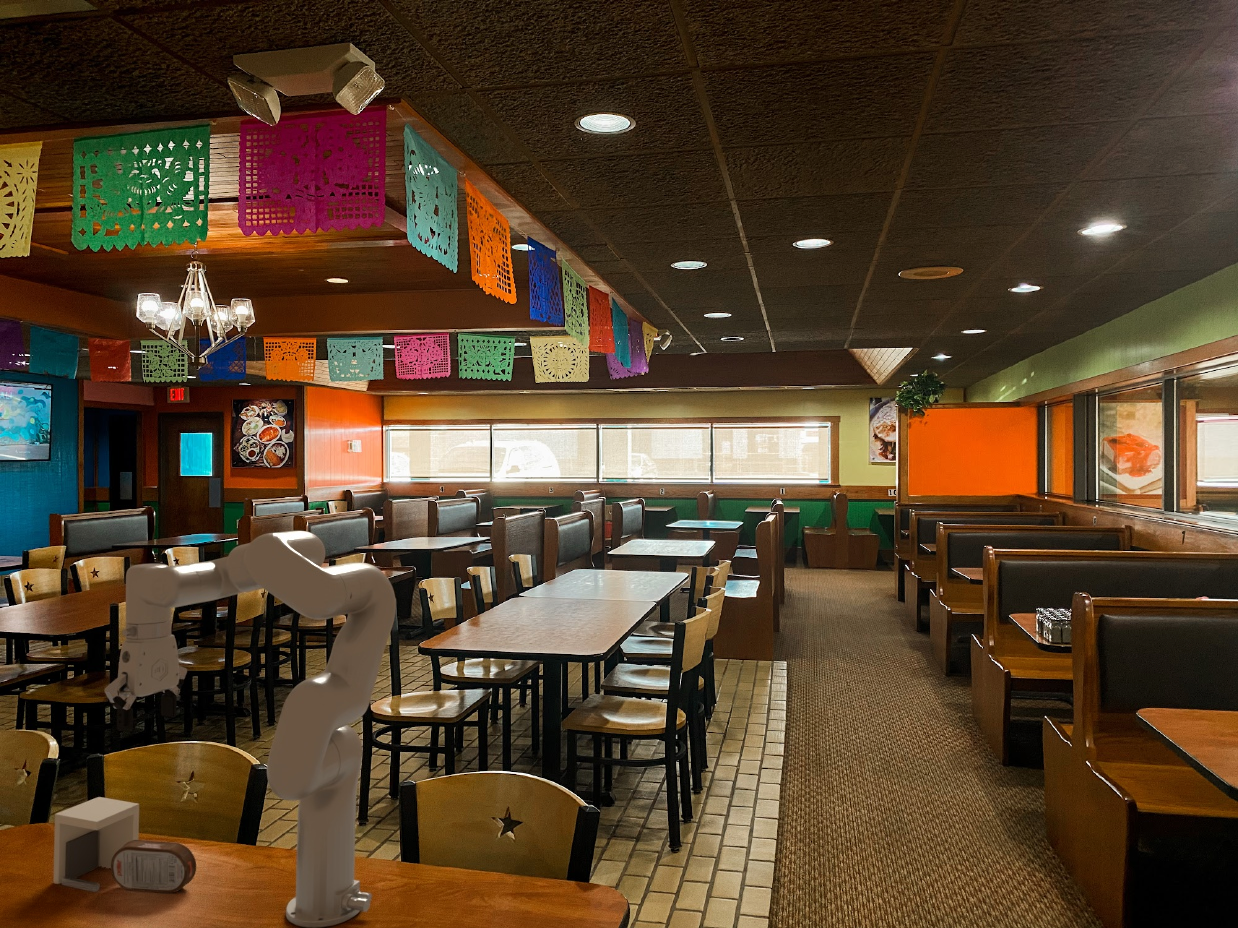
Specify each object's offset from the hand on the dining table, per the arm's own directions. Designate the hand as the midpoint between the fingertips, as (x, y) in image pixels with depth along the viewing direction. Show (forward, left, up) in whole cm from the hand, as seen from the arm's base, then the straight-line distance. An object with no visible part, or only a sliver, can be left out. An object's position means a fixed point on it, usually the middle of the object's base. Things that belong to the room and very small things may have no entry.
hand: (147, 722), depth 161 cm
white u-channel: (+8, +3, -28) cm, 30 cm away
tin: (-6, +3, -29) cm, 29 cm away
